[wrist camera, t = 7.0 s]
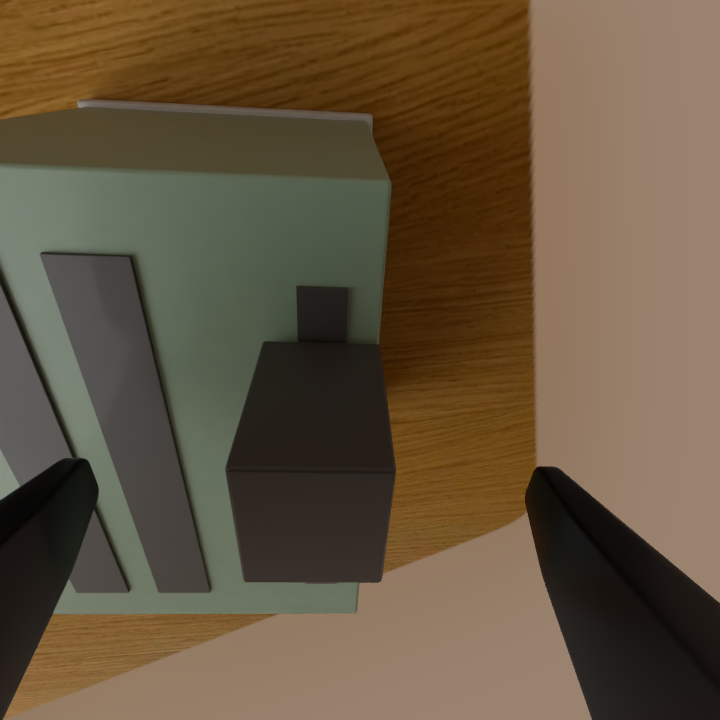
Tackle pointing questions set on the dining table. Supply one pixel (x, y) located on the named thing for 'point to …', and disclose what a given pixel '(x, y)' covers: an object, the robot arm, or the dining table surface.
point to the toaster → (173, 321)
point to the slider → (313, 465)
